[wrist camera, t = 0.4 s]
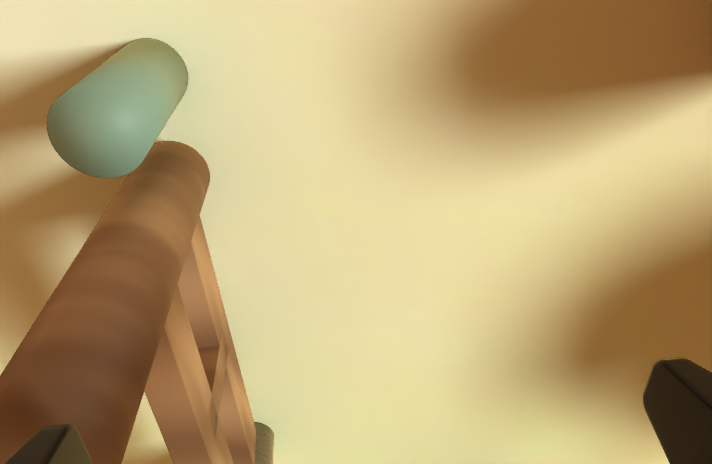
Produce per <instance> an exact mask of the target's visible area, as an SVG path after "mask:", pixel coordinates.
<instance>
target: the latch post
mask: <svg viewBox="0 0 712 464" xmlns="http://www.w3.org/2000/svg"><path fill="white" fill-rule="evenodd" d="M187 85H188V72H187V68H186V65H185V63H184V61H183V59H182V58H181V56H180V55H179V54H178V53H177V52H176V51H175V50H174V49H173V48H172V47H171V46H169V45H168V44H166V43H164V42H162V41H159V40H156V39H150V38H142V39H137V40H134V41H132V42H130V43H129V44H127V45H126V46H124V47H123V48H122V49H121V50H119V51H118V52H117V53H115V54H114V55H113V56H111V57H110V58H109V59H108V60H106V61H105V62H104V63H102V64H101V65H100V66H98V67H97V68H96V69H94V70H93V71H92V72H91V73H89V74H88V75H87V76H85V77H84V78H83V79H81V80H80V81H79V82H78V83H76V84H75V85H74V86H72V87H71V88H70V89H68V90H67V91H66V92H65V93H63V94H62V95H61V96H59V97H58V98H57V99H56V100H55V101H54V103H53V104H52V106H51V108H50V110H49V113H48V116H47V131H48V136H49V139H50V141H51V143H52V145H53V147H54V149H55V150H56V152H57V153H58V154H59V155H60V157H61V158H62V159H63V160H64V161H65V162H67V163H68V164H69V165H70V166H72V167H73V168H75V169H76V170H78V171H80V172H82V173H85V174H87V175H90V176H94V177H99V178H116V177H121V176H124V175H126V174H129V173H131V172H132V171H134V170H135V169H136V168H137V167H139V165H140V164H141V163H142V162H143V160H144V158H145V157H146V155H147V154H148V152H149V150H150V149H151V147H152V145H153V144H154V142H155V141H156V139H157V137H158V136H159V134H160V132H161V131H162V129H163V128H164V126H165V124H166V123H167V121H168V119H169V118H170V116H171V114H172V113H173V111H174V110H175V108H176V106H177V105H178V103H179V101H180V100H181V98H182V97H183V95H184V93H185V91H186V89H187Z"/></svg>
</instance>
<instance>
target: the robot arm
mask: <svg viewBox="0 0 712 464" xmlns="http://www.w3.org/2000/svg"><path fill="white" fill-rule="evenodd" d="M643 404H644V408H645V411H646V413H647V415H648V417H649V419H650V422H651V424H652V426H653V428H654V430H655V432H656V435H657V437H658V439H659V441H660V443H661V445H662V447H663V450H664V452H665V454H666V456H667V458H668V460H669V463H670V464H712V373H711V372H710V371H708V370H706V369H704V368H702V367H701V366H699V365H697V364H695V363H694V362H692V361H690V360H688V359H685V358H681V357H677V358H667V359H660V360H657V361H656V362H655V363H654V365H653V367H652V370H651V373H650V376H649V379H648V382H647V384H646V387H645V390H644V394H643ZM4 464H92V463H91V458H90V455H89V453H88V451H87V449H86V447H85V445H84V443H83V441H82V438H81V436H80V434H79V432H78V430H77V428H76V427H75V426H73V425H72V424H62V425H53V426H46V427H44V428H42V429H40V430H39V431H38V432H36V433H35V434H34V435H33V436H32V437H31V438H30V439H29V440H28V441H27V442H26V443H25V444H24V445H23V446H22V447H20V448H19V449H18V450H17V451H16V452H15V453H14V454H13V455H12V456H11V457H10V458H9V459H8V460H7V461H6V462H5V463H4Z"/></svg>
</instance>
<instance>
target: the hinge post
mask: <svg viewBox="0 0 712 464" xmlns="http://www.w3.org/2000/svg"><path fill="white" fill-rule="evenodd" d="M254 425H255V428H256V444H255V458H254V464H273V446H274V434H273V431H272V430H271V429H270V428H269V427H268V426H266V425H264V424H261V423H257V422H254Z"/></svg>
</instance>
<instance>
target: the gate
mask: <svg viewBox="0 0 712 464" xmlns="http://www.w3.org/2000/svg"><path fill="white" fill-rule="evenodd" d="M209 181H210V173H209V168H208V166H207V163H206V162H205V160H204V158H203V157H202V156H201V155H200V154H199V153H198V152H197V151H196V150H194V149H193V148H191V147H190V146H188V145H186V144H183V143H180V142H175V141H163V142H159V143H155V144H153V145H152V147H151V149H150V150H149V152H148V154H147V155H146V157H145V158H144V160H143V162H142V163H141V164H140V165H139V167H137V168H136V169H135V170H134V171H132V172H131V173H129V175H128V176H127V178H126V180H125V181H124V183H123V184H122V186H121V187H120V189H119V190H118V192H117V194H116V195H115V197H114V198H113V200H112V201H111V203H110V205H109V206H108V208H107V209H106V211H105V212H104V214H103V216H102V217H101V219H100V220H99V222H98V223H97V225H96V227H95V228H94V230H93V231H92V233H91V234H90V236H89V238H88V239H87V241H86V242H85V244H84V245H83V247H82V249H81V250H80V252H79V253H78V255H77V256H76V258H75V260H74V261H73V263H72V264H71V266H70V267H69V269H68V270H67V272H66V274H65V275H64V277H63V278H62V280H61V281H60V283H59V285H58V286H57V288H56V289H55V291H54V292H53V294H52V296H51V297H50V299H49V300H48V302H47V303H46V305H45V307H44V308H43V310H42V311H41V313H40V314H39V316H38V318H37V319H36V321H35V322H34V324H33V325H32V327H31V329H30V330H29V332H28V333H27V335H26V336H25V338H24V339H23V341H22V343H21V344H20V346H19V347H18V349H17V350H16V352H15V354H14V355H13V357H12V358H11V360H10V361H9V363H8V365H7V366H6V368H5V369H4V371H3V372H2V374H1V376H0V464H4V463H5V462H6V461H7V460H8V459H9V458H10V457H11V456H12V455H13V454H14V453H15V452H16V451H17V450H18V449H19V448H20V447H22V446H23V445H24V444H25V443H26V442H27V441H28V440H29V439H30V438H31V437H32V436H33V435H34V434H35V433H36V432H38V431H39V430H40V429H42V428H44V427H46V426H53V425H62V424H72V425H73V426H75V427H76V428H77V430H78V432H79V434H80V436H81V438H82V441H83V443H84V445H85V447H86V449H87V451H88V453H89V455H90V458H91V463H92V464H121V463H122V460H123V456H124V453H125V450H126V447H127V444H128V440H129V437H130V434H131V431H132V428H133V425H134V421H135V418H136V415H137V412H138V409H139V405H140V402H141V399H142V396H143V393H144V392H145V394H146V396H147V399H148V401H149V404H150V406H151V409H152V411H153V414H154V416H155V419H156V421H157V424H158V426H159V428H160V431H161V433H162V436H163V438H164V441H165V443H166V446H167V448H168V451H169V453H170V456H171V458H172V460H173V463H174V464H254V458H255V444H256V428H255V425H254V421H253V417H252V413H251V409H250V406H249V402H248V398H247V394H246V390H245V387H244V383H243V379H242V375H241V371H240V367H239V364H238V360H237V356H236V352H235V348H234V345H233V341H232V337H231V333H230V329H229V326H228V322H227V318H226V314H225V310H224V307H223V303H222V299H221V295H220V291H219V287H218V284H217V280H216V276H215V272H214V268H213V265H212V261H211V257H210V253H209V249H208V246H207V242H206V238H205V234H204V230H203V227H202V223H201V219H200V215H199V214H200V211H201V208H202V205H203V202H204V198H205V195H206V192H207V189H208V186H209Z"/></svg>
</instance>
